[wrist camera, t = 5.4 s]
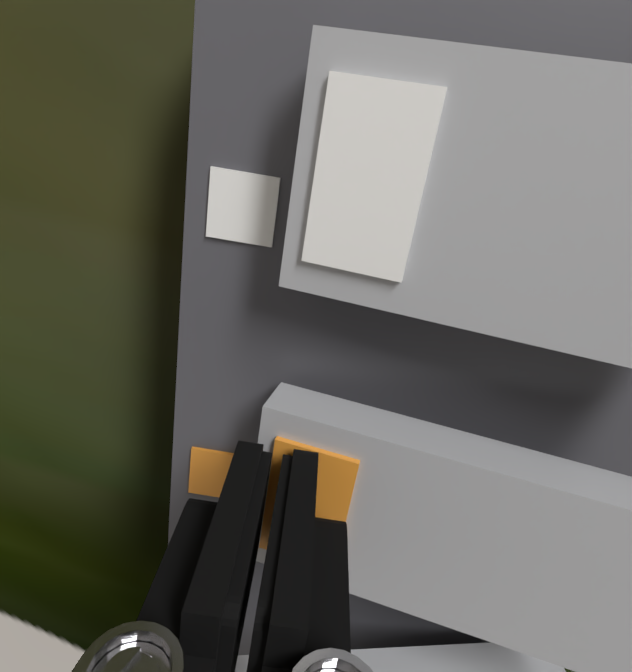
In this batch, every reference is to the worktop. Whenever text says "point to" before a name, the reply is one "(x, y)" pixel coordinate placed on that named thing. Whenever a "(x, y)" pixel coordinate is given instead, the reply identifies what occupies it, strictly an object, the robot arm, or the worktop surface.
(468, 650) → the block
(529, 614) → the block
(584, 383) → the rocker switch panel
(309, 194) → the block
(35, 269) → the worktop surface
